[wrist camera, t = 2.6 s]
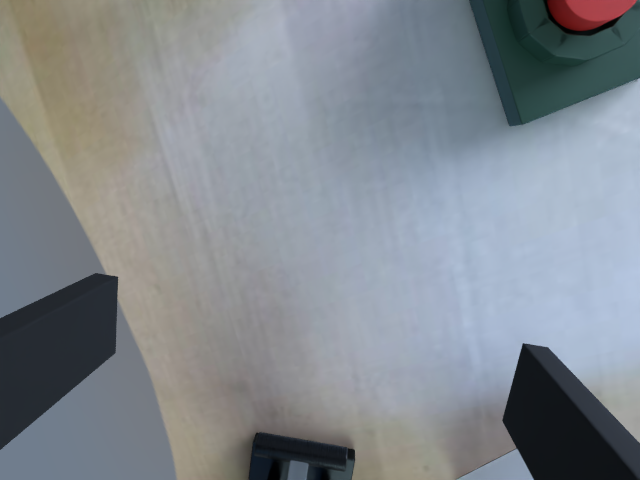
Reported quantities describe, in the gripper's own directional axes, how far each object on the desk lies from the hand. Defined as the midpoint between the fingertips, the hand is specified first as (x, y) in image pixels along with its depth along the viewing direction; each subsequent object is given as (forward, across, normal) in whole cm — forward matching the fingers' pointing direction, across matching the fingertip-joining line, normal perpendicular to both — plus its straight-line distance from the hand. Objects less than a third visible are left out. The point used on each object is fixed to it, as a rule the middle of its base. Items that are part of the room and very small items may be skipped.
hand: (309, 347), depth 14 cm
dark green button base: (+17, +11, +16) cm, 26 cm away
